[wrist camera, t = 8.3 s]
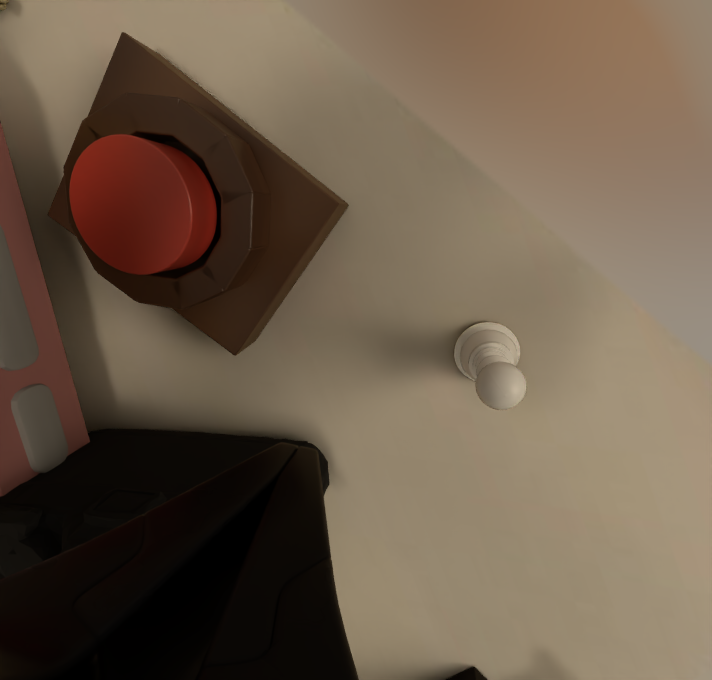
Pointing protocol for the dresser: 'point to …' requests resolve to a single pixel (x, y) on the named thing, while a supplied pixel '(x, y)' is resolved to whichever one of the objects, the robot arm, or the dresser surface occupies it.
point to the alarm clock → (30, 353)
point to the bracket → (468, 675)
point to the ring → (3, 4)
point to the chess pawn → (492, 364)
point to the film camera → (114, 487)
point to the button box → (231, 191)
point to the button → (142, 204)
